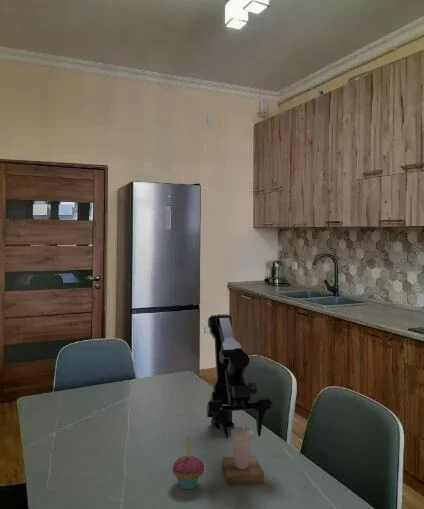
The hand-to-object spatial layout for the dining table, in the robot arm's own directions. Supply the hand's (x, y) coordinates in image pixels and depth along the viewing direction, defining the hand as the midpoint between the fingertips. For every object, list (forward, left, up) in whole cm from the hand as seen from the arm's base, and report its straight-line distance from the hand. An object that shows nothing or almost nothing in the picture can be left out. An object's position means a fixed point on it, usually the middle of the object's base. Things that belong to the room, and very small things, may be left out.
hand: (243, 437), depth 118 cm
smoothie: (0, -1, -9) cm, 9 cm away
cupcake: (+15, -3, -11) cm, 19 cm away
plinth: (0, -1, -11) cm, 11 cm away
